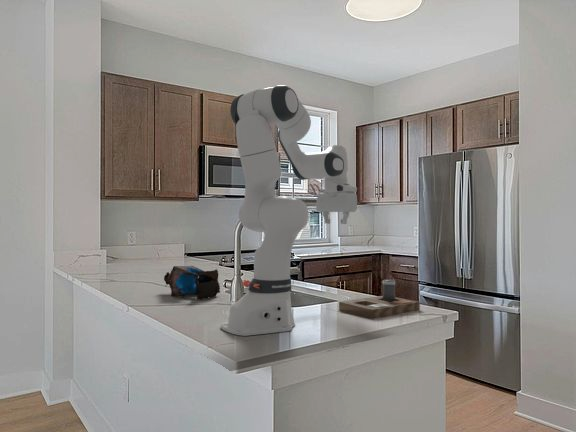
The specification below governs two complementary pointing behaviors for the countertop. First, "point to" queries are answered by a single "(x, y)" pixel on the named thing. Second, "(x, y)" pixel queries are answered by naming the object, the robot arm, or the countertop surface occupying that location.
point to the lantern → (192, 282)
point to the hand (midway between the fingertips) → (335, 223)
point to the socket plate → (378, 307)
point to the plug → (388, 290)
